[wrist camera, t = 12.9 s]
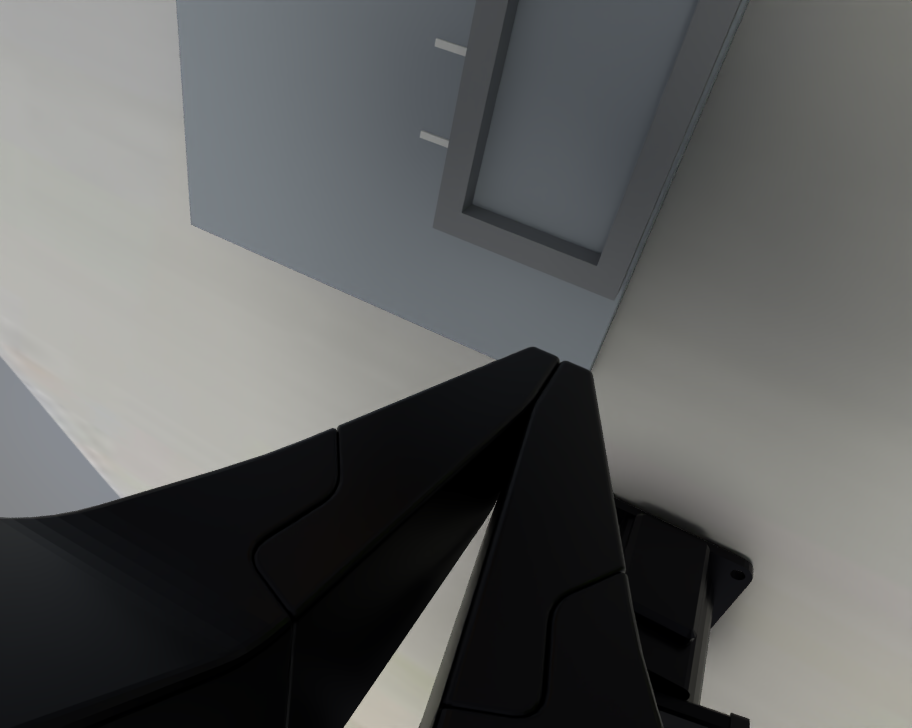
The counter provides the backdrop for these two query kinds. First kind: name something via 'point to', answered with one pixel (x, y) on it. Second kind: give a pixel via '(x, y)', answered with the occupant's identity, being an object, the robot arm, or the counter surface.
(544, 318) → the console
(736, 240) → the counter surface
